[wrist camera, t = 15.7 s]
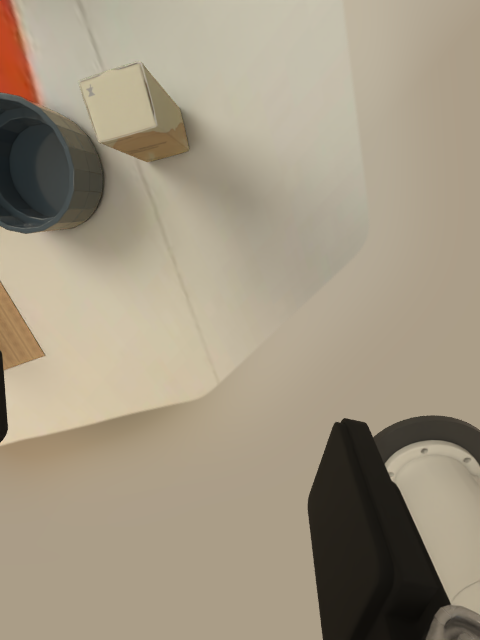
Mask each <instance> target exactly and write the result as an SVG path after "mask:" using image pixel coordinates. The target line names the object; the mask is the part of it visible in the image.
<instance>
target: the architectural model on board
mask: <svg viewBox="0 0 480 640" xmlns="http://www.w3.org/2000/svg"><path fill="white" fill-rule="evenodd" d="M0 351H1V352H2V357H3V370H5V369H8V368H11V367H14V366H17V365H19V364H22V363H25V362H28V361H31V360H33V359H36V358H39V357H42V356H45V355H44V353H43V352H42V350H41V348H40V347H39V345H38V343H37V342H36V340H35V339H34V337H33V335H32V334H31V332H30V330H29V329H28V327H27V325H26V324H25V322H24V320H23V319H22V317H21V316H20V314H19V312H18V311H17V309H16V307H15V306H14V304H13V302H12V301H11V299H10V297H9V296H8V294H7V293H6V291H5V289H4V288H3V286H2V284H1V283H0Z"/></svg>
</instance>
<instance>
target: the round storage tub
mask: <svg viewBox="0 0 480 640" xmlns="http://www.w3.org/2000/svg"><path fill="white" fill-rule="evenodd" d="M102 182H103V173H102V168H101V164H100V160H99V156H98V154H97V152H96V150H95V148H94V146H93V144H92V143H91V141H90V139H89V137H88V136H87V135H86V134H85V133H84V132H83V131H82V130H81V129H80V128H79V127H78V126H77V124H76V123H74V122H73V121H71V120H70V119H68V118H66V117H64V116H63V115H61V114H59V113H57V112H55V111H53V110H50V109H48V108H46V107H43V106H41V105H39V104H37V103H34V102H32V101H30V100H27V99H25V98H23V97H20V96H16V95H11V94H6V93H1V92H0V226H1V227H3V228H5V229H7V230H10V231H15V232H20V233H25V234H28V233H37V232H45V231H54V230H62V229H70V228H74V227H76V226H78V225H80V224H81V223H83V222H85V221H86V220H87V219H88V218H89V217H90V216H91V215H92V213H93V212H94V211H95V210H96V208H97V206H98V203H99V200H100V198H101V195H102Z"/></svg>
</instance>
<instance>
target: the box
mask: <svg viewBox="0 0 480 640" xmlns="http://www.w3.org/2000/svg"><path fill="white" fill-rule="evenodd" d="M78 83H79V86H80V90H81V93H82V96H83V99H84V102H85V105H86V108H87V112H88V114H89V118H90V120H91V123H92V126H93V129H94V132H95V135H96V138H97V140H98V142H99V143H102V144H104V145H107V146H109V147H112V148H114V149H116V150H119V151H121V152H124V153H126V154H129V155H131V156H133V157H136V158H138V159H141V160H143V161H146V162H150V161H154V160H158V159H162V158H166V157H170V156H173V155H177V154H180V153H184V152H187V151H189V146H188V141H187V136H186V132H185V127H184V123H183V119H182V115H181V112H180V108H179V107H178V106H177V104H176V103H175V102H174V101H173V100H172V99H171V97H170V96H169V95H168V94H167V93H166V91H165V90H164V89H163V88H162V87H161V85H160V84H159V83H158V82H157V81H156V79H155V78H154V77H153V76H152V75H151V73H150V72H149V71H148V70H147V69H146V67H145V66H144V65H143V63H142V62H140V61H137V62H134V63H130V64H127V65H123V66H120V67H117V68H114V69H111V70H108V71H105V72H102V73H99V74H96V75H93V76H90V77H88V78H85V79H82V80H80V81H79V82H78Z"/></svg>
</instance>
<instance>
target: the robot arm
mask: <svg viewBox="0 0 480 640" xmlns="http://www.w3.org/2000/svg"><path fill="white" fill-rule="evenodd" d="M7 430H8V423H7V410H6V397H5V383H4V370H3V357H2V352H1V351H0V442H1V441H2V440H3V439H4V437H5V436H6V434H7ZM308 516H309V524H310V532H311V540H312V549H313V558H314V567H315V576H316V584H317V593H318V601H319V609H320V618H321V627H322V634H323V640H480V466H479V464H478V462H477V461H476V460H475V458H474V457H473V456H472V455H471V454H470V453H469V452H468V451H467V450H466V449H464V448H462V447H461V446H459V445H456V444H454V443H451V442H447V441H441V440H427V441H420V442H416V443H413V444H410V445H408V446H405V447H403V448H402V449H400V450H398V451H397V452H395V453H394V454H393V455H392V456H391V457H390V458H389V459H388V460H387V461H386V463H385V464H384V462H383V460H382V457H381V455H380V453H379V450H378V448H377V446H376V443H375V441H374V439H373V437H372V435H371V432H370V430H369V427H368V426H367V424H366V423H365V422H360V421H355V420H350V419H346V418H344V419H343V420H342V421H341V423H339V422H336V423H335V424H334V426H333V428H332V431H331V434H330V437H329V439H328V442H327V445H326V448H325V451H324V454H323V457H322V460H321V463H320V465H319V468H318V471H317V474H316V477H315V480H314V483H313V486H312V488H311V491H310V494H309V498H308Z"/></svg>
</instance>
